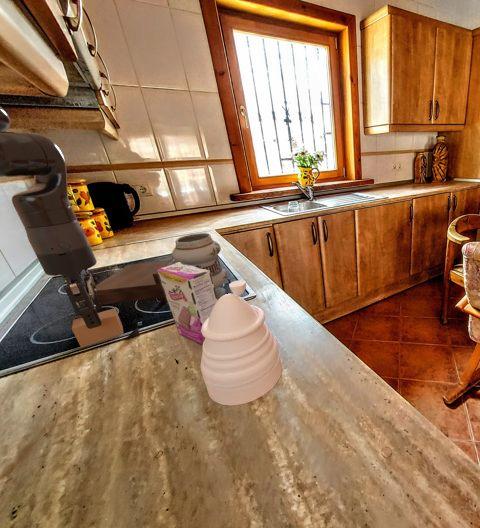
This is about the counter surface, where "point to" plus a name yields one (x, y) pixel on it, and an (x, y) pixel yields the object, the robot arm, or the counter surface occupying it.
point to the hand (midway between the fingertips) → (95, 318)
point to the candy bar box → (188, 297)
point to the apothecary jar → (202, 257)
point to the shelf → (133, 283)
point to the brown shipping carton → (100, 329)
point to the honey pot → (238, 351)
